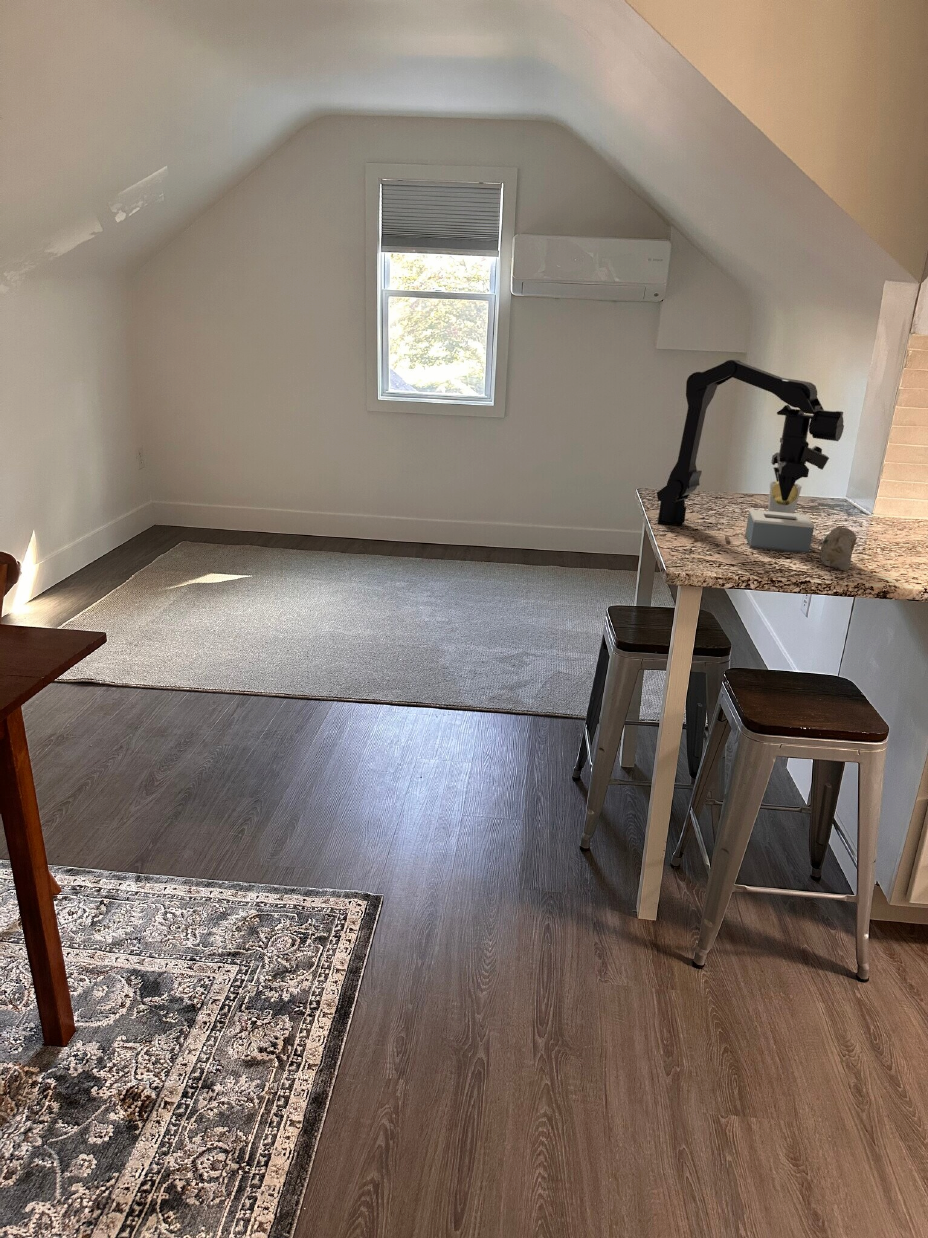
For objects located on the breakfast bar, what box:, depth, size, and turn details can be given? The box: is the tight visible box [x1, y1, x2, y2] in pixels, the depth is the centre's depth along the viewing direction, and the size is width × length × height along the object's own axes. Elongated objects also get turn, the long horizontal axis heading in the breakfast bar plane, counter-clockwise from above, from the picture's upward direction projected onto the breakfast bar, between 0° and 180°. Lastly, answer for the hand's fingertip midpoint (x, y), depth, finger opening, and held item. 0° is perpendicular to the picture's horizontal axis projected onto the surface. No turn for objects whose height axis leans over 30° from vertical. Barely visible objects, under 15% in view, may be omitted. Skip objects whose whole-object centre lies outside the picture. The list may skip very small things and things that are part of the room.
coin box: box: [744, 509, 815, 554], centre depth 227 cm, size 14×12×7 cm
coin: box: [771, 480, 798, 505], centre depth 223 cm, size 6×2×6 cm, turn 79°
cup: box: [767, 480, 802, 514], centre depth 243 cm, size 8×8×12 cm
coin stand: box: [693, 532, 731, 545], centre depth 228 cm, size 9×5×1 cm, turn 79°
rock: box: [820, 526, 858, 571], centre depth 211 cm, size 12×7×10 cm, turn 159°
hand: (783, 499), depth 224 cm, fingers closed on coin, 2 cm apart
